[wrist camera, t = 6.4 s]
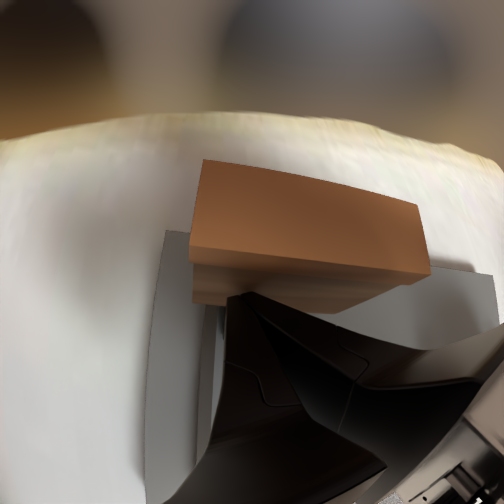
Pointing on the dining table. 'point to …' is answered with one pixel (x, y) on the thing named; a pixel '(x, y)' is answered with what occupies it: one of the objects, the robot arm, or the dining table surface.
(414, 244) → the walnut slider lever
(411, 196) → the dining table surface
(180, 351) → the control panel
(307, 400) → the robot arm
